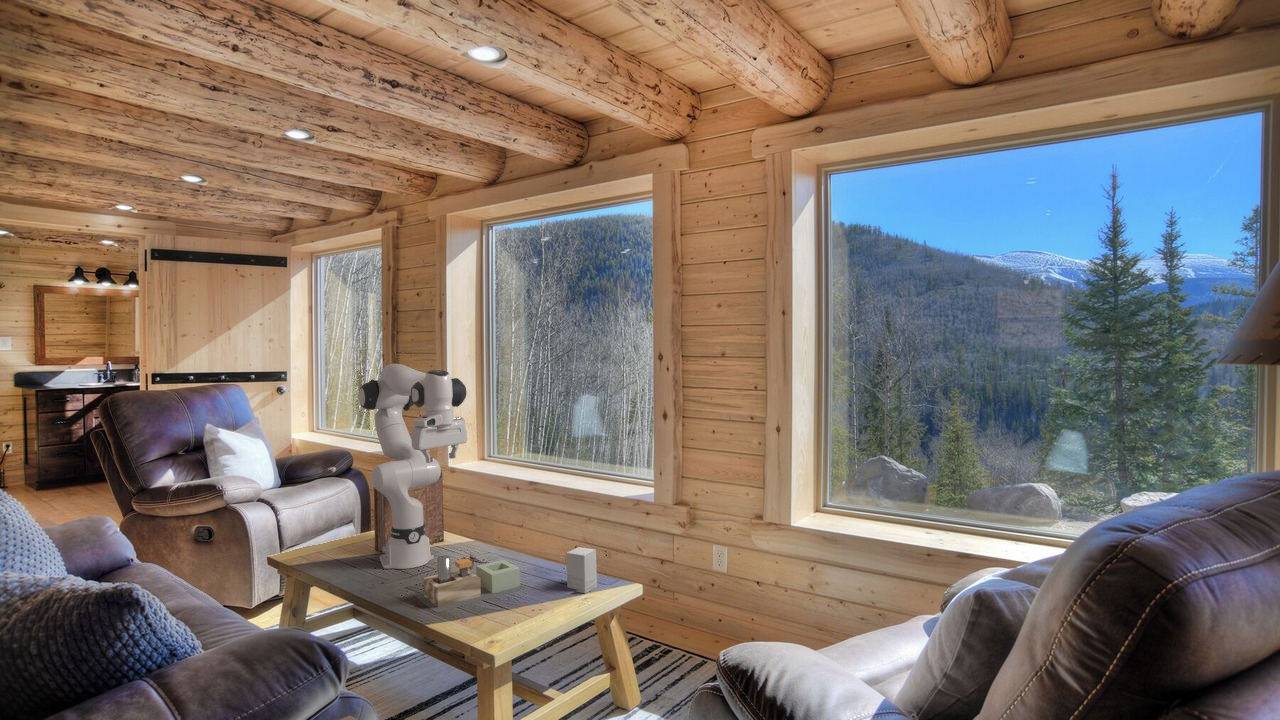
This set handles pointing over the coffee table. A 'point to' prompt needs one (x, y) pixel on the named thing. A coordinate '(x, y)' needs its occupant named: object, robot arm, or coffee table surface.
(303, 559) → the coffee table surface
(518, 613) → the coffee table surface
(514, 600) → the coffee table surface
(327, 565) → the coffee table surface
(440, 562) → the grey cylindrical peg
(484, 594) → the mat
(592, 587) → the supplement box
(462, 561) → the key
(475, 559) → the pliers
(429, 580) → the socket block
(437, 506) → the book
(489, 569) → the frame
